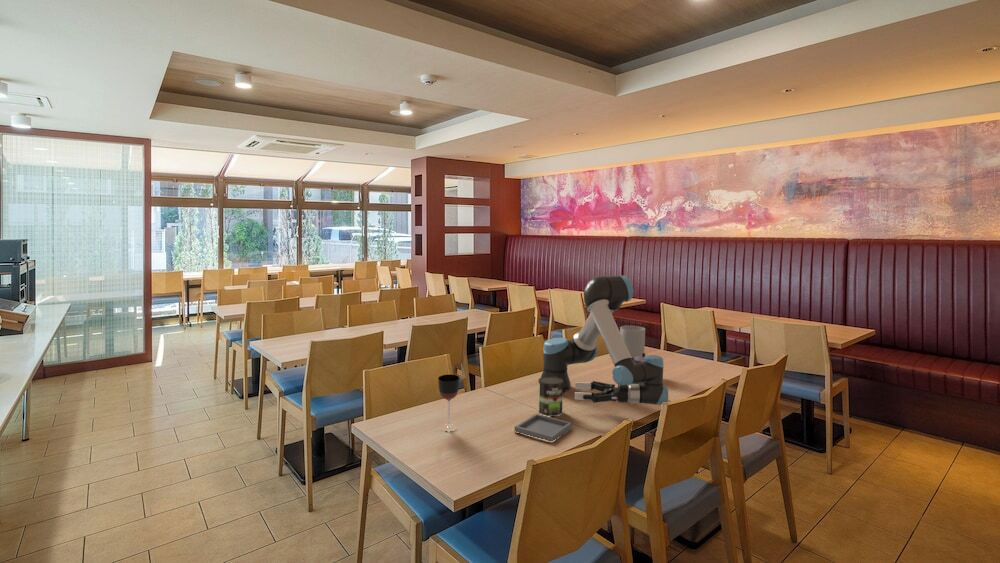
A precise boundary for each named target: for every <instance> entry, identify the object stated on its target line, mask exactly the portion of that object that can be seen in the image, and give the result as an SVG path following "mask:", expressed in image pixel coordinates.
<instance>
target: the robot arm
mask: <svg viewBox="0 0 1000 563" xmlns="http://www.w3.org/2000/svg"><path fill="white" fill-rule="evenodd" d="M634 291H635V290H634V285H633V283H632V281H631V279H630V278H629V277H627V276H625V275H621V274H617V275H606V276H605V275H603V276H601V275H600V276H599V275H598V276H595V277H592V278H590V280H588V282H587V283H586V285H585V287H584V289H583V302H584V305H585V308H586V311H587V312H588V313H590V314H589V315H588V317H587V318H586V320H585V322H584V323H583V325H582V327H581V329H580V330H579V331H577V332H576V333H574V335H573V337H572V338H571V339H569V340H568V339H567V338H565V337H553V338H548V339H547V340H546V341H544V343H543V349H542V353H543V354H542V355H543V356H542V358H543V359H542V360H543V361H542V373H541V376H540V378H542V377H557V378H561V379H562V380H563V392H564V393H565V392H568V391H570V390H571V385H572V384H571V380H570V377H569V374H568V365H576V364H583V363H584V364H587V363H589V362H591V361H593V360H595V358H596V356H597V353H598V351H597V350H598V346H597V339H598V337H599V336H601V338H602V341H603V343H604V345H605V347H606V349H607V352H608V354H609V357H610V359H611V362H612V364H613V366H614V367H613V369H612V371H611V372H612V373H611V374H612V380H613V382H614V383H616V385H617V387H616V385H615V384H612V383H607V382H606V383H605V382H602V381H595V380H593V381H591V382H585V381H584V382H581V381H575V383H574V384H575V386H574V389H575V390H577V389H578V390H591V391H593V390H594V391H599V392H583V391H582V392H580V391H579V392H578V391H575V392H574V400H578V401H579V400H582V401H592V402H593V403H595V404H596V403H602V402H603V403H605V402H618V403H628V402H629V403H630V404H633V405H636V404H645V405H648V404H649V405H663V404H662V403H663V402H667V403H668V402H669V388H668V386H667V385H664V381H663V380H664V367H665V366H664V359H663V357H662V356H659V355H656V354H655V355H654V354H647V355H645V357H644V360H643V361H644V362H641V363H634V361H633V359H632V357H631V355H630V353H629V351H628V349H627V346H626V344H625V342H624V340H623V338H622V335H621V333H620V329H619V326H618V325H617V323H616V320H615V318H614V316H613V313H614V312H615V311H618V310H619V309H620V308H621V307H622V304H623V303H627V302H629V301H631V300H633V299H632V298H633V296H634ZM639 382H643V384H634V383H639Z"/></svg>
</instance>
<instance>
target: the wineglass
mask: <svg viewBox="0 0 1000 563" xmlns="http://www.w3.org/2000/svg"><path fill="white" fill-rule="evenodd" d="M437 378H438V379H437V381H438V384H437V385H438V390H439V395H440V396H441V397H442V398H443V399H444V400H446V401H447V424H448V426H447V428H450V427H451V426H450V424H451V400H452V399H455V398H456V396H457V395H458V393H459V387H460V376H459V375H456V374H443V375H442V374H441V375H440V376H438V377H437Z"/></svg>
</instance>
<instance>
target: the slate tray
mask: <svg viewBox="0 0 1000 563" xmlns="http://www.w3.org/2000/svg"><path fill="white" fill-rule="evenodd" d="M572 427H573V423H572V422H570V421H568V420H567V421H566V420H562V419H559V418H556V417H547V416H543V415H540V414H539V413H534V414H533V415H531V416H529V417H528V418H526V419H525V420H523V421H521V422H519V423H518V424H517V425H515V426H514V432H515V431H516V432H519V433H523V434H526V435H530V436H533V437H537V438H541V439H545V440H548V441H553V440H555V439H557V438H558V437H560V436H561V435H563V434H564V433H566V432H567V431H568V432H570V431H571V430H572V429H573V428H572ZM571 428H572V429H571ZM570 429H571V430H570ZM569 430H570V431H569ZM568 432H567V433H568ZM567 433H566V434H567ZM564 435H565V434H564ZM564 435H563V436H564ZM560 438H561V437H560Z"/></svg>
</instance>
